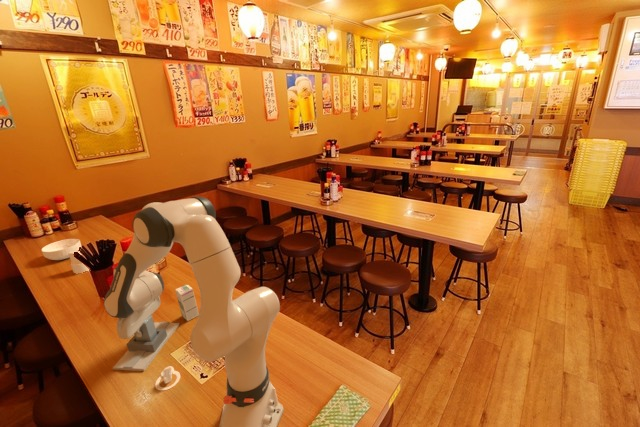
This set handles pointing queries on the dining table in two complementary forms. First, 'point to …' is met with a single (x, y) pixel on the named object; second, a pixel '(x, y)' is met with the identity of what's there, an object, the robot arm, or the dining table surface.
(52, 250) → the bowl
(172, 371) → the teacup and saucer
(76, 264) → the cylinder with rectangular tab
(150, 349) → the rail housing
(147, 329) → the block
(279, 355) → the dining table surface
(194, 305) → the syrup box
